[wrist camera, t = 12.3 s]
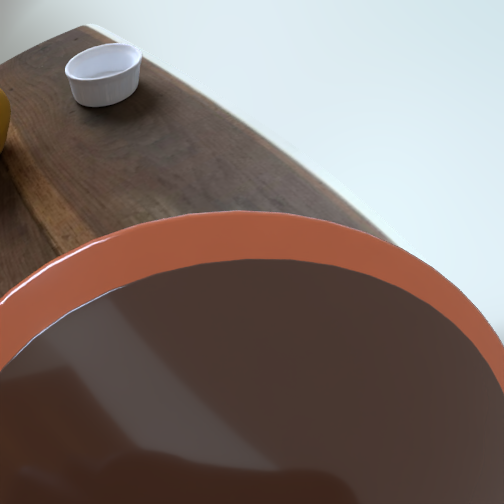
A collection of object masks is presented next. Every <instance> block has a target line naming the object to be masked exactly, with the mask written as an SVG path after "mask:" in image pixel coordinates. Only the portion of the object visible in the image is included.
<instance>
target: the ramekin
mask: <svg viewBox="0 0 504 504" xmlns="http://www.w3.org/2000/svg"><path fill="white" fill-rule="evenodd" d="M141 61H142V52H141V51H140V50H139V49H138V48H137V47H135V46H132V45H129V44H121V43H114V44H105V45H100V46H96V47H93V48H90V49H87V50H85V51H83V52H81V53H79V54H78V55H76V56H75V57H73V58H72V59H71V60H70V61H69V62H68V64H67V65H66V67H65V73H66V76H67V78H68V79H69V82H70V86H71V89H72V93H73V96H74V98H75V100H76V101H77V102H78V103H79V104H81V105H84V106H89V107H102V106H108V105H112V104H115V103H117V102H120V101H122V100H124V99H126V98H127V97H129V96H130V95H131V94H132V93H133V92H134V91H135V90H136V88H137V86H138V82H139V71H140V64H141Z"/></svg>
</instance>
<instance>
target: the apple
mask: <svg viewBox="0 0 504 504" xmlns="http://www.w3.org/2000/svg"><path fill="white" fill-rule="evenodd" d="M10 114H11V109H10V103H9V100H8V98H7V96H6V95H5V93H4V92H3V90H2V89H1V88H0V154H1V152H2V150H3V147H4V144H5V141H6V138H7V132H8V127H9V123H10Z"/></svg>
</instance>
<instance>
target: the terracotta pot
mask: <svg viewBox="0 0 504 504" xmlns="http://www.w3.org/2000/svg"><path fill="white" fill-rule="evenodd" d="M0 504H504V346H503V344H502V342H501V340H500V339H499V337H498V335H497V334H496V332H495V331H494V330H493V328H492V327H491V325H490V324H489V323H488V321H487V320H486V319H485V317H484V316H483V315H482V313H481V312H480V311H479V310H478V308H477V307H476V306H475V305H474V304H473V303H472V302H471V301H470V300H469V299H468V298H467V297H466V296H465V295H464V294H463V293H462V292H461V291H460V289H458V288H457V287H456V286H455V285H454V284H453V283H451V282H450V281H449V280H448V279H446V278H445V277H444V276H443V275H442V274H440V273H439V272H438V271H437V270H435V269H434V268H433V267H431V266H430V265H428V264H426V263H425V262H423V261H422V260H420V259H418V258H417V257H415V256H414V255H412V254H410V253H409V252H407V251H405V250H404V249H402V248H400V247H398V246H396V245H393V244H391V243H389V242H387V241H385V240H382V239H380V238H378V237H376V236H373V235H371V234H369V233H366V232H363V231H360V230H357V229H354V228H351V227H347V226H344V225H341V224H337V223H334V222H331V221H327V220H322V219H316V218H311V217H305V216H300V215H294V214H288V213H277V212H259V211H239V210H237V211H222V212H207V213H194V214H186V215H181V216H175V217H170V218H165V219H160V220H155V221H150V222H145V223H141V224H137V225H134V226H131V227H128V228H125V229H122V230H119V231H116V232H113V233H111V234H108V235H105V236H102V237H99V238H96V239H93V240H91V241H89V242H87V243H85V244H83V245H81V246H79V247H77V248H75V249H73V250H71V251H69V252H67V253H65V254H63V255H61V256H59V257H57V258H55V259H53V260H52V261H50V262H48V263H46V264H45V265H44V266H42V267H41V268H39V269H38V270H36V271H35V272H34V273H32V274H31V275H29V276H28V277H27V278H25V279H24V280H22V281H21V282H20V283H18V284H17V285H16V286H14V287H13V288H12V289H10V290H9V291H8V292H7V293H6V294H5V295H4V296H3V297H2V298H1V299H0Z"/></svg>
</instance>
